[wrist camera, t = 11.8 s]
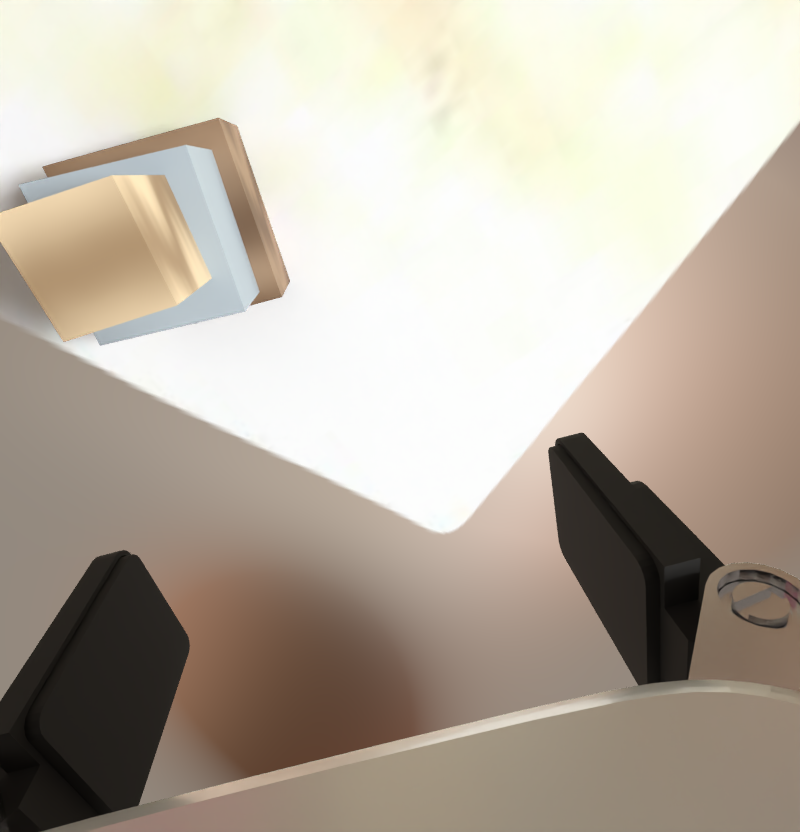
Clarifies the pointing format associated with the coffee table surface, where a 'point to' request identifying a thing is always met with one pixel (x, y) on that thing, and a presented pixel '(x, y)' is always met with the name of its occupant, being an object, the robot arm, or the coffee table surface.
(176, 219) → the oak block
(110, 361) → the coffee table surface
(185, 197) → the slate cube
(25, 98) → the coffee table surface
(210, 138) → the walnut base block
